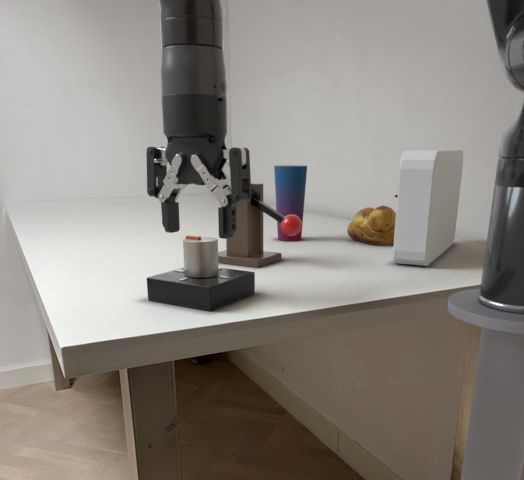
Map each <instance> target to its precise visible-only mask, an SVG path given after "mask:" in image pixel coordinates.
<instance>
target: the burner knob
mask: <svg viewBox="0 0 524 480" xmlns="http://www.w3.org/2000/svg"><path fill="white" fill-rule="evenodd" d="M182 247H183V248H182V249H183V250H182V251H183V268H184V272H185V276H187V277H192V278H208V277H214V276H217V275H218V274H219V268H220V267H219V266H220V265H219V263H218V252H219V238H217V237H213V236H200V235H199V236H198V235H189V234H188V235H185V238H183V239H182Z"/></svg>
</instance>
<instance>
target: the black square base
mask: <svg viewBox="0 0 524 480" xmlns="http://www.w3.org/2000/svg"><path fill="white" fill-rule="evenodd" d="M255 279H256V272H255V271H248V270H241V269H234V268H226V267H219V274H218V275H217V276H214V277H208V278H192V277H187V276H185V272H184V267H181V268H177V269H174V270H169V271H166V272H162V273H159V274H158V273H157V274H155V275H152V276H147V277H146V288H147V289H146V290H147V300H148V301H149V302H150V301H151V302H154V303H155V302H156V303H160V304H168V305H171V306H177V307H184V308H188V309H195V310H200V311H205V312H206V311H207V312H212V311H216V310H218V309H220V308H222V307H225V306H228V305H230V304H233V303H236V302H238V301H240V300H243V299H245V298H248V297H250V296H253V295H255V293H256V280H255Z"/></svg>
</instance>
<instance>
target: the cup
mask: <svg viewBox="0 0 524 480" xmlns="http://www.w3.org/2000/svg"><path fill="white" fill-rule="evenodd" d="M273 170H274V171H273V172H274V188H275V210H276V211H277V212H279V213H281V214H282V215H284V216H287V215H290V214H293V215H296V216H298V217H299V218H300V220H301V222H302V225H303V223H304V222H303V221H304V209H305V197H306V186H307V175H308V165H304V164H303V165H301V164H300V165H299V164H297V165H295V164H290V165H289V164H285V165H283V164H280V165H274V166H273ZM276 228H277V240H278V241H282V242H297V241H301V240H302V235H303V227H302V228H301V230H300V232H299V233H298V234H296V235H294V236H289V235H286V234H285V233H284V232H283V231H282V229H281V223H280V222H278V221H277V220H276Z"/></svg>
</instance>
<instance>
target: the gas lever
mask: <svg viewBox="0 0 524 480" xmlns="http://www.w3.org/2000/svg"><path fill="white" fill-rule="evenodd" d="M256 193H257V192H256V191H254V190H252V189H251V205H253V206H255V207H256V208H258V209H259V210H261V211H263V214H266V215H267V216H269V217H270V218H271V219H273V220H275V221H276V222H277V221H278V222H280V223H281V229H282V231H283V232H284V233H285V234H286V235H289V236H294V235H296V234H298V233H299V232H300V230H301V228H302V229H303V224H302V222H301V220H300V218H299V217H298V216H296V215H293V214H290V215H287V216H284V215H282V214H281V213H279V212H277V211H276V209H275V208H272V207H271V206H270V205H268V204H267V203H265V202H264V201H263V202H262V201H260V200H258V199H257V198H255V196H256Z"/></svg>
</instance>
